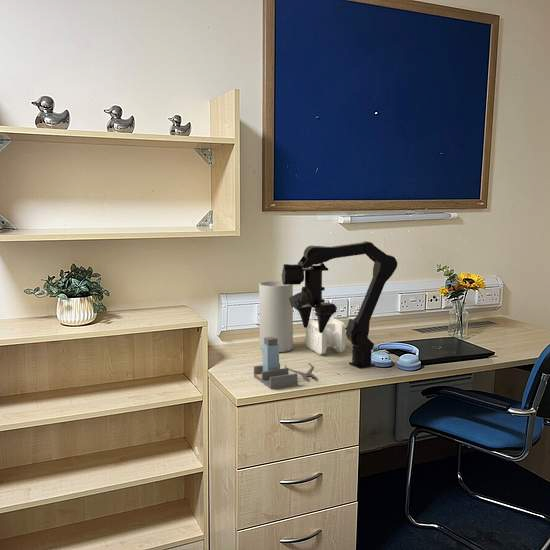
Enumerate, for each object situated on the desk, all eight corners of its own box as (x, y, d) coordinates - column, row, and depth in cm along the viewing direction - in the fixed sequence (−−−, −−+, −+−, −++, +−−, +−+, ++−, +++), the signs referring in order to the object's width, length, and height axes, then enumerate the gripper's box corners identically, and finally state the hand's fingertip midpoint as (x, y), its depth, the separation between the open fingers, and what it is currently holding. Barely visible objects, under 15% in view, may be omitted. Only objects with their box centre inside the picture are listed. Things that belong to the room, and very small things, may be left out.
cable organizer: (346, 354, 225) (347, 323, 223) (320, 357, 221) (320, 325, 220) (329, 345, 239) (329, 315, 237) (304, 347, 235) (304, 317, 234)
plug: (274, 372, 200) (273, 336, 198) (279, 375, 196) (279, 338, 195) (262, 373, 198) (262, 337, 197) (267, 377, 195) (267, 340, 193)
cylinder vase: (294, 352, 228) (294, 285, 224) (261, 353, 227) (260, 286, 223) (290, 344, 240) (290, 280, 237) (258, 345, 239) (258, 281, 236)
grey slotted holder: (279, 373, 203) (279, 362, 202) (297, 385, 190) (297, 374, 190) (253, 376, 199) (253, 366, 199) (270, 389, 187) (270, 377, 186)
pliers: (306, 361, 215) (335, 376, 197) (306, 363, 215) (335, 379, 197) (281, 364, 211) (308, 380, 193) (281, 367, 211) (308, 383, 193)
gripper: (278, 282, 209) (278, 327, 211) (308, 290, 193) (308, 338, 195) (305, 279, 214) (305, 323, 216) (337, 287, 198) (337, 334, 200)
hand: (313, 330), depth 207 cm, fingers open, 9 cm apart
